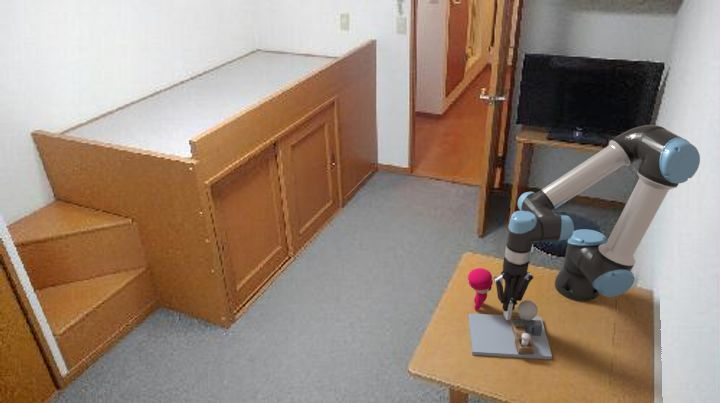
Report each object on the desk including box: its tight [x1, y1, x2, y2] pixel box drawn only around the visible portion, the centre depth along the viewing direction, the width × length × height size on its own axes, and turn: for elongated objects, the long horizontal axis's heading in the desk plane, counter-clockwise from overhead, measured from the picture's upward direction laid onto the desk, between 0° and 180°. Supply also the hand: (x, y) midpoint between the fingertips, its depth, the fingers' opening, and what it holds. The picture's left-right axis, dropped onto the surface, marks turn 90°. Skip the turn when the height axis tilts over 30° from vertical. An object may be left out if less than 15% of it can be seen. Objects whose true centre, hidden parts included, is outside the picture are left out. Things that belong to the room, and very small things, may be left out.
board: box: [467, 313, 553, 360], centre depth 175 cm, size 24×18×7 cm
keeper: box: [513, 319, 544, 336], centre depth 175 cm, size 9×2×6 cm, turn 84°
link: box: [509, 306, 535, 354], centre depth 174 cm, size 18×5×4 cm, turn 0°
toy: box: [467, 267, 494, 312], centre depth 186 cm, size 8×8×15 cm
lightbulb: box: [517, 299, 538, 330], centre depth 176 cm, size 6×6×11 cm
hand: (506, 317), depth 180 cm, fingers closed
